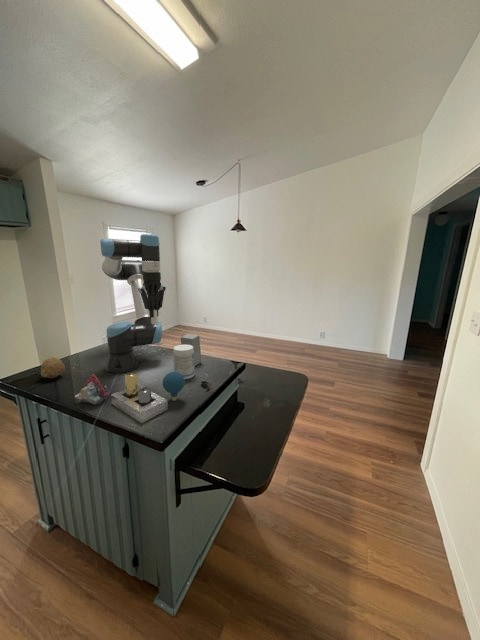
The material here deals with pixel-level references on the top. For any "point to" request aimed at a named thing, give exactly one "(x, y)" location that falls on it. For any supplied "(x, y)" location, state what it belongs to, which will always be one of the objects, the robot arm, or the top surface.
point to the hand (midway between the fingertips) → (154, 323)
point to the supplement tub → (184, 360)
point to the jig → (140, 404)
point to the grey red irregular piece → (93, 391)
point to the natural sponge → (52, 367)
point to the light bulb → (173, 383)
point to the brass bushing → (131, 385)
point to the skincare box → (195, 343)
